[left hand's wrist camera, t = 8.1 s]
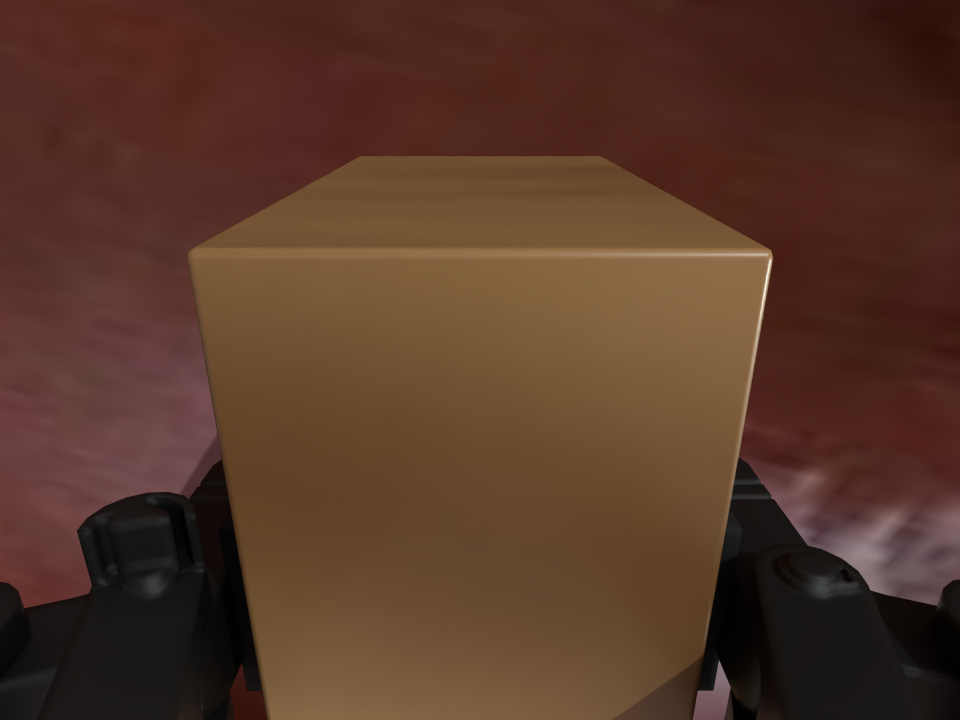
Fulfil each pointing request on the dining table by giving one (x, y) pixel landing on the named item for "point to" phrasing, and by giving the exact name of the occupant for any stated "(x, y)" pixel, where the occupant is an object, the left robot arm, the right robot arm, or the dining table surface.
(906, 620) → the left robot arm
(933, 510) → the dining table surface
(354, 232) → the bar
